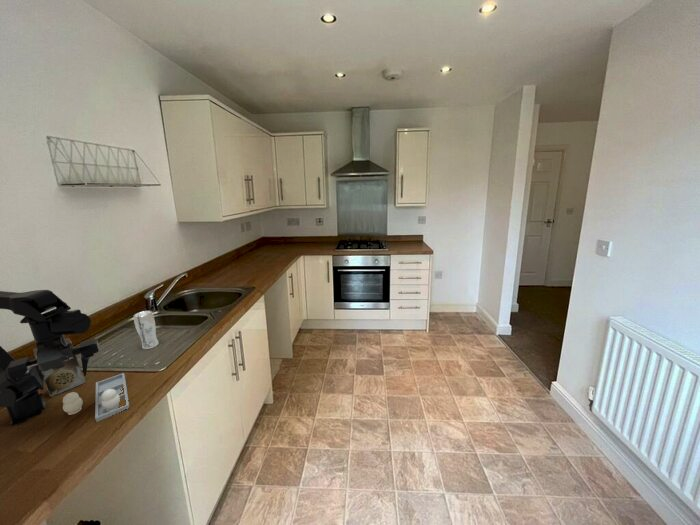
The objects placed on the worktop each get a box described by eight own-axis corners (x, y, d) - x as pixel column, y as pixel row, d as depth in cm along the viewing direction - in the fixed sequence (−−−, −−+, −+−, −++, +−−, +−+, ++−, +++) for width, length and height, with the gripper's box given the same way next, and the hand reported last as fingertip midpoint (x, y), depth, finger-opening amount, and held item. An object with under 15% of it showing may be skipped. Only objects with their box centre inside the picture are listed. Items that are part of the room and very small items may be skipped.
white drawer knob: (103, 415, 86) (98, 397, 84) (103, 407, 89) (98, 390, 88) (122, 408, 89) (117, 390, 87) (121, 400, 92) (116, 383, 90)
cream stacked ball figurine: (64, 419, 86) (58, 401, 84) (66, 411, 89) (59, 393, 87) (84, 411, 88) (78, 393, 87) (85, 404, 92) (79, 386, 90)
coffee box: (82, 376, 106) (69, 336, 102) (85, 383, 102) (72, 342, 98) (47, 390, 100) (32, 348, 96) (49, 397, 96) (33, 354, 92)
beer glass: (162, 344, 126) (154, 312, 123) (143, 351, 121) (134, 318, 118) (157, 339, 131) (149, 309, 127) (139, 346, 126) (130, 314, 122)
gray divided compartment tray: (96, 422, 84) (95, 418, 83) (97, 386, 100) (95, 382, 100) (129, 409, 88) (128, 404, 88) (124, 376, 105) (123, 372, 105)
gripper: (-10, 359, 71) (12, 413, 74) (91, 333, 82) (105, 380, 86) (1, 343, 79) (21, 392, 83) (91, 320, 90) (104, 364, 94)
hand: (64, 382), depth 86 cm, fingers open, 9 cm apart
